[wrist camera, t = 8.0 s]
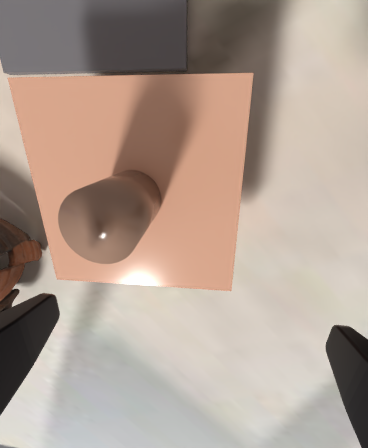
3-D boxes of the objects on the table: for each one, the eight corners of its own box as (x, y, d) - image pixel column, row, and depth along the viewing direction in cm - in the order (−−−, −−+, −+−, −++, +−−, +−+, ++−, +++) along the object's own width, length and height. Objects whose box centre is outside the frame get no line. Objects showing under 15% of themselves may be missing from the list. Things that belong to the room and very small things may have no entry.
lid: (250, 77, 11) (286, 25, 6) (230, 283, 15) (240, 354, 10) (20, 81, 12) (-115, 41, 7) (63, 272, 16) (1, 332, 11)
